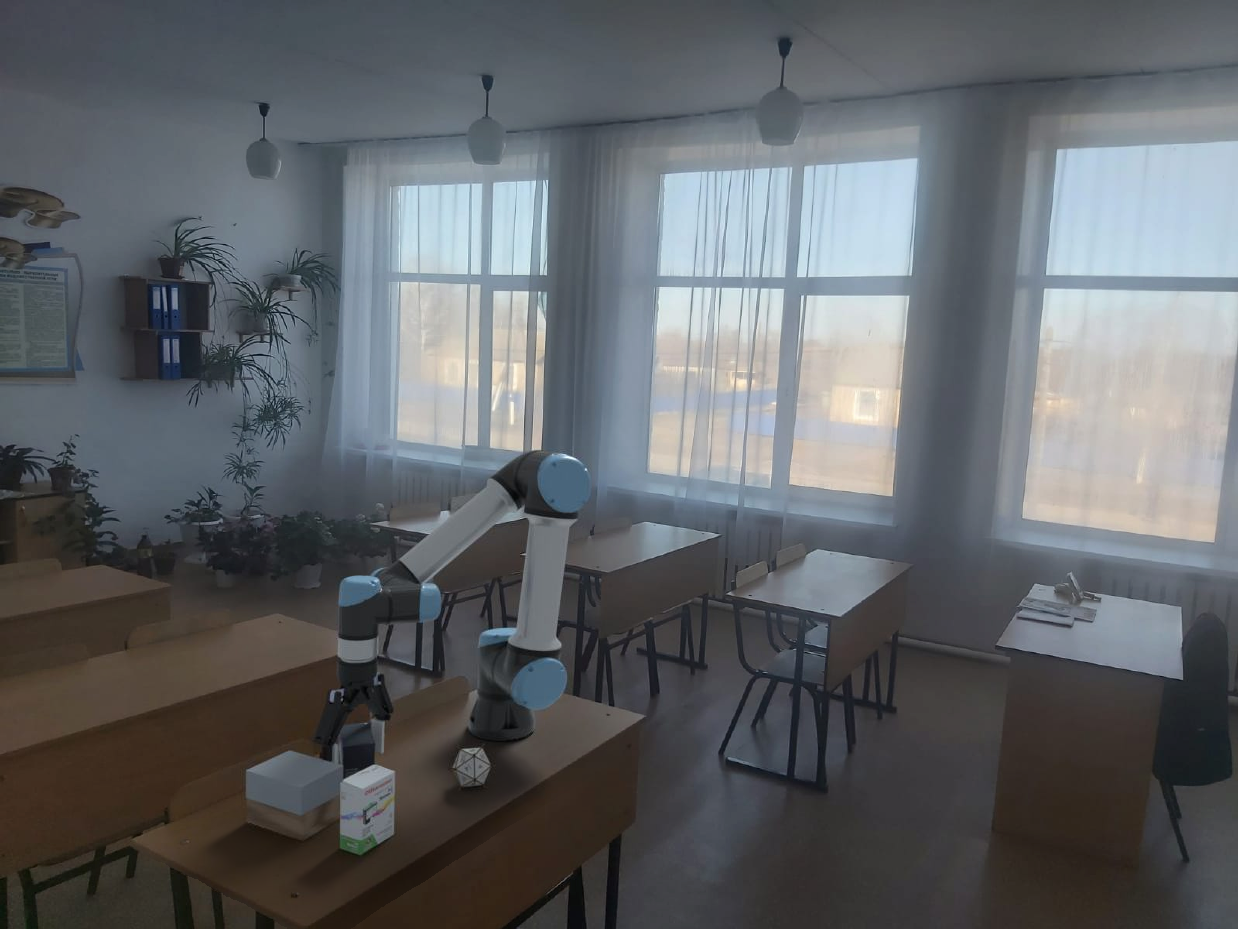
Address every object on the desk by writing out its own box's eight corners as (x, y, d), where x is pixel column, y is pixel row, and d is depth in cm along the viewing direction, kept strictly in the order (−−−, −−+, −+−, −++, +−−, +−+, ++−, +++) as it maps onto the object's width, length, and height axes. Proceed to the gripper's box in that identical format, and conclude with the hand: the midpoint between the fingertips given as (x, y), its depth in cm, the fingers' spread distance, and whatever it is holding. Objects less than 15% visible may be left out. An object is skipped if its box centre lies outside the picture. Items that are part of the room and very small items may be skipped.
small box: (336, 775, 178) (336, 724, 177) (369, 771, 180) (370, 721, 179) (340, 799, 168) (341, 745, 167) (376, 794, 170) (377, 741, 169)
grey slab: (289, 776, 166) (289, 750, 166) (342, 792, 161) (343, 765, 160) (245, 797, 157) (245, 770, 157) (301, 815, 152) (301, 787, 151)
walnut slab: (289, 801, 167) (289, 776, 166) (343, 818, 161) (343, 791, 161) (246, 824, 158) (246, 797, 157) (302, 843, 152) (303, 815, 152)
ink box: (360, 856, 148) (361, 788, 147) (338, 848, 150) (339, 781, 149) (395, 834, 156) (396, 769, 155) (373, 827, 158) (374, 763, 157)
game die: (476, 808, 174) (482, 782, 168) (438, 788, 175) (443, 762, 169) (498, 771, 181) (505, 745, 174) (461, 752, 182) (467, 725, 176)
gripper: (383, 639, 185) (380, 738, 186) (294, 671, 162) (292, 784, 164) (413, 645, 182) (409, 746, 183) (327, 678, 159) (324, 793, 161)
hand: (354, 764), depth 173 cm, fingers open, 13 cm apart
